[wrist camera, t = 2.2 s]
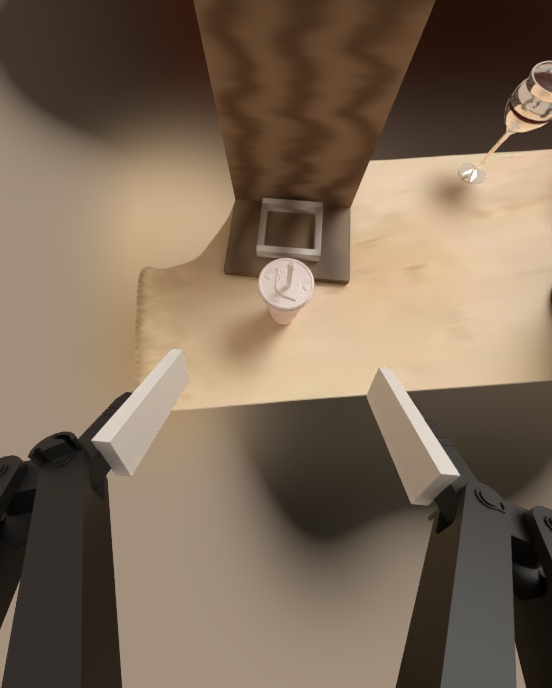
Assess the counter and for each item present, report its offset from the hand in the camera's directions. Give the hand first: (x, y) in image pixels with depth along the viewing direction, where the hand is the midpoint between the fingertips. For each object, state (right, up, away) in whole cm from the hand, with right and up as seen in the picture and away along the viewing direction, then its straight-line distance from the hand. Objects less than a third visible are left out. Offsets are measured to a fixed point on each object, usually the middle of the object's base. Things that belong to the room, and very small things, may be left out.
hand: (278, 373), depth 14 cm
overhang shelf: (+2, +20, +21) cm, 30 cm away
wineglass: (+37, +34, +25) cm, 56 cm away
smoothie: (+1, +7, +18) cm, 20 cm away
